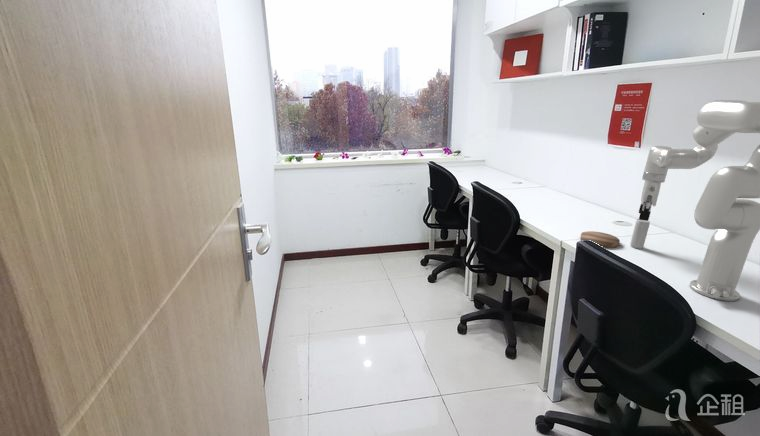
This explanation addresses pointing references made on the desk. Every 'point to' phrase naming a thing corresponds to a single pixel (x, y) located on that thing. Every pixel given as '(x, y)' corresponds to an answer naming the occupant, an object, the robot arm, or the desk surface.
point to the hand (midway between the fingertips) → (643, 216)
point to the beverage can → (639, 234)
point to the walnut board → (601, 239)
